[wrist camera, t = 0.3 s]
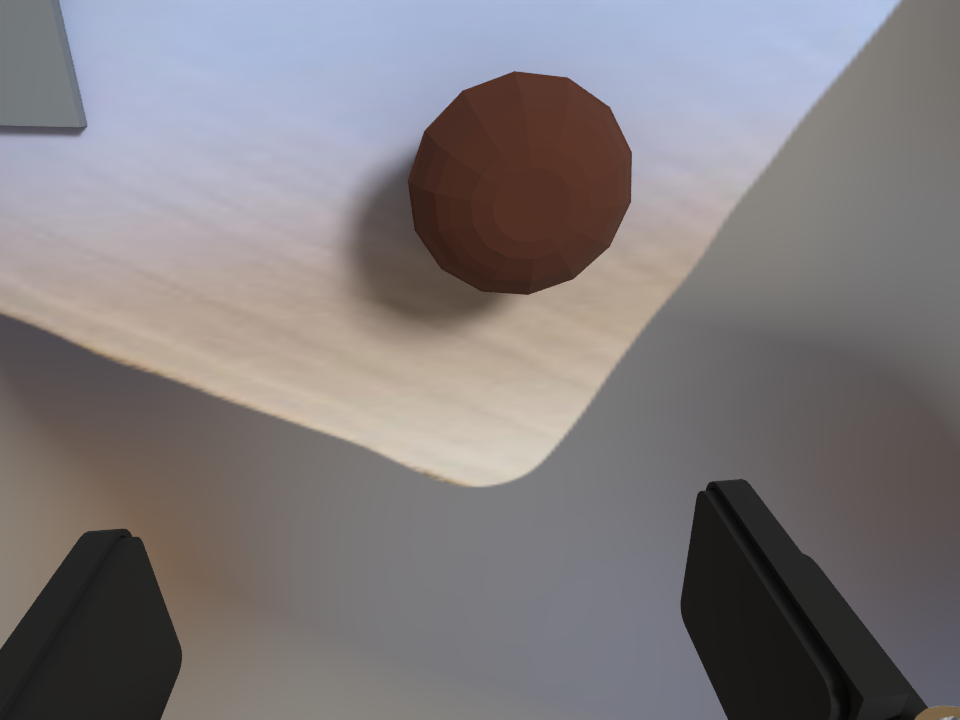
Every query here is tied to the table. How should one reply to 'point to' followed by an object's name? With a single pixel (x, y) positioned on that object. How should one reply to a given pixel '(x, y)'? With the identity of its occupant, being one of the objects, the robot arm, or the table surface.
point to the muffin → (520, 183)
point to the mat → (37, 67)
